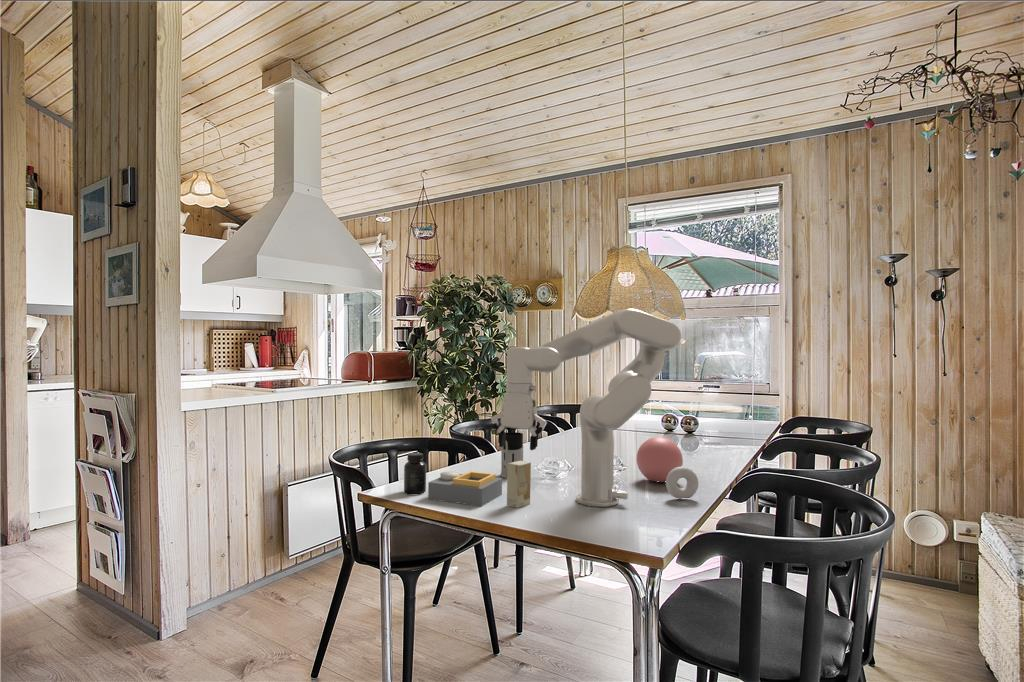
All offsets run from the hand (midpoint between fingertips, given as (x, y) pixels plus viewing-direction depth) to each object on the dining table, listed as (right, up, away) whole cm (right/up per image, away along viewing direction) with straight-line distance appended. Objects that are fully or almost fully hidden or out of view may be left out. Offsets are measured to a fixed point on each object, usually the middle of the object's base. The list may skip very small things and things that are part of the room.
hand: (517, 447), depth 158 cm
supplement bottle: (-32, -17, +13) cm, 38 cm away
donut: (+50, -17, +7) cm, 53 cm away
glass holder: (-3, -17, +34) cm, 38 cm away
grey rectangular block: (-16, -17, +8) cm, 24 cm away
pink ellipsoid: (+50, -18, +31) cm, 61 cm away
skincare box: (0, -17, 0) cm, 17 cm away
